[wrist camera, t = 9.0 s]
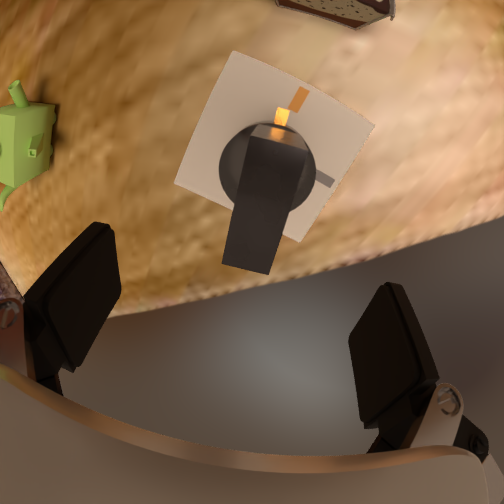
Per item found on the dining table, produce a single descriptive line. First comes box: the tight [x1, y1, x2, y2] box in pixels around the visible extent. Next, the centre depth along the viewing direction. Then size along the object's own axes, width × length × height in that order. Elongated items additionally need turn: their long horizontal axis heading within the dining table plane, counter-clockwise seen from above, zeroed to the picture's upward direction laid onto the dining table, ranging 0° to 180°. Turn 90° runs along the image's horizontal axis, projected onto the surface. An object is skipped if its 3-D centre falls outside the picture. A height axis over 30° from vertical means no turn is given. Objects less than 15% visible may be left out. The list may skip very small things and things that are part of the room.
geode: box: [0, 264, 25, 304], centre depth 49 cm, size 20×12×10 cm, turn 20°
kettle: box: [0, 80, 56, 212], centre depth 26 cm, size 15×14×11 cm
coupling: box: [219, 107, 316, 275], centre depth 19 cm, size 9×8×12 cm
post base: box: [174, 50, 375, 243], centre depth 28 cm, size 18×18×7 cm
